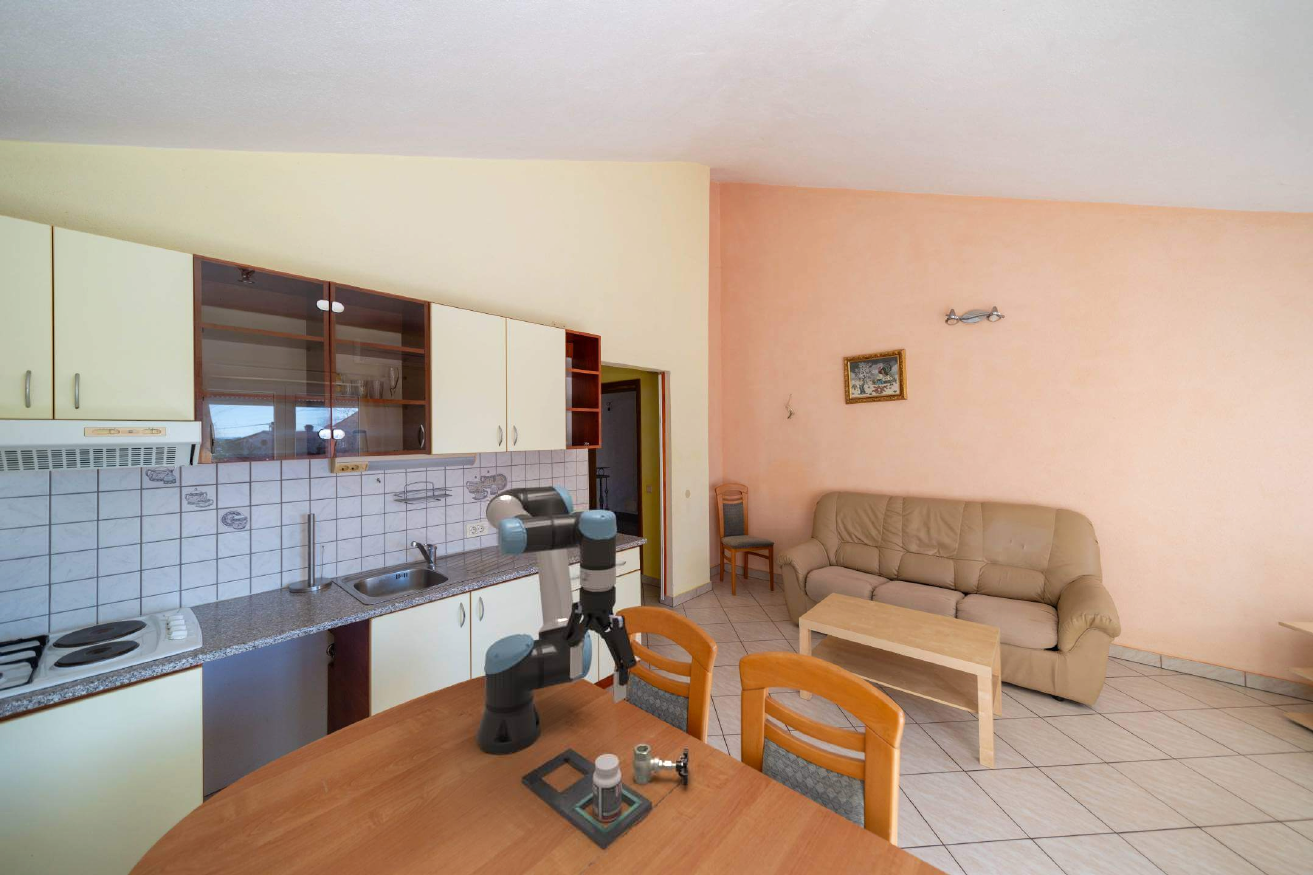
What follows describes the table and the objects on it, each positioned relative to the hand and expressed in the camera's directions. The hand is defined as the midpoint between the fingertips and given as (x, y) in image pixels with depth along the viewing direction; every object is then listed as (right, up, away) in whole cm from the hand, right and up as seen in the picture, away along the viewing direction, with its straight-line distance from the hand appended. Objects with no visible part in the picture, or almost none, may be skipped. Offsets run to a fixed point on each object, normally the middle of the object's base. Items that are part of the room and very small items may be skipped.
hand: (597, 687), depth 100 cm
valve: (+13, -23, +4) cm, 26 cm away
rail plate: (-3, -22, 0) cm, 22 cm away
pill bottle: (+3, -22, -5) cm, 23 cm away
